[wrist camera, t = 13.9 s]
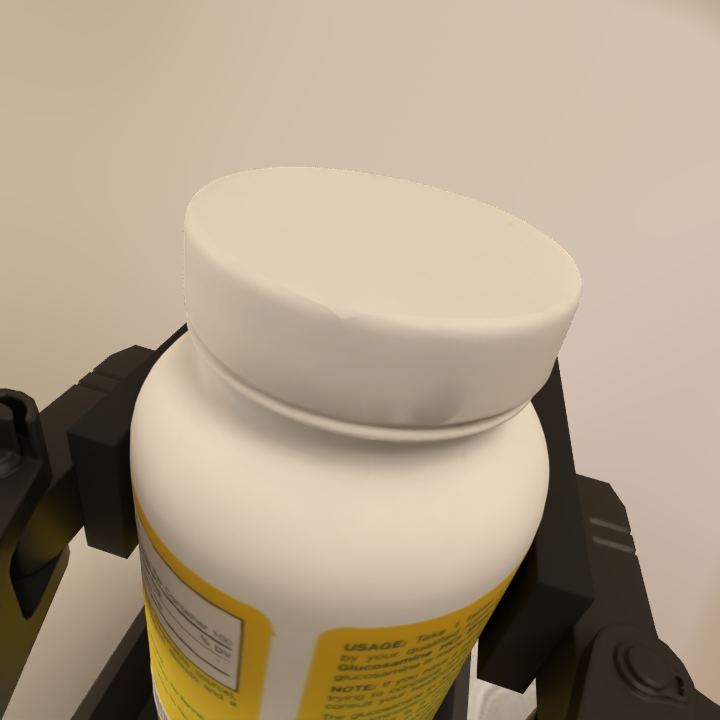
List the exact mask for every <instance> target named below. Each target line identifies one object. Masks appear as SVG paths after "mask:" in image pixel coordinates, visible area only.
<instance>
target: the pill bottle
mask: <svg viewBox="0 0 720 720" xmlns="http://www.w3.org/2000/svg"><path fill="white" fill-rule="evenodd" d="M183 270H184V272H183V282H184V299H185V308H186V311H187V327H188V331H187V332H186V333H185V334H183V335H182V336H181V337H180V338H179V339H178V340H176V341H175V342H174V343H173V344H172V345H171V346H170V347H169V348H168V349H167V350H166V351H165V352H164V353H163V354H162V356H161V357H160V358H159V359H158V361H157V362H156V363H155V364H154V366H153V368H152V369H151V371H150V373H149V375H148V376H147V378H146V380H145V381H144V384H143V386H142V388H141V391H140V393H139V395H138V398H137V401H136V404H135V408H134V413H133V417H132V422H131V431H130V472H131V483H132V491H133V500H134V506H135V518H136V525H137V532H138V542H139V550H140V561H141V571H142V581H143V594H144V601H145V613H146V620H147V630H148V638H149V647H150V658H151V673H152V680H153V693H154V699H155V704H156V709H157V714H158V720H432V719H433V717H434V715H435V713H436V712H437V710H438V709H439V707H440V705H441V704H442V702H443V700H444V698H445V696H446V694H447V692H448V691H449V689H450V687H451V685H452V683H453V682H454V680H455V679H456V677H457V675H458V674H459V672H460V670H461V668H462V666H463V664H464V662H465V661H466V659H467V657H468V655H469V654H470V652H471V650H472V648H473V647H474V645H475V643H476V641H477V639H478V638H479V636H480V634H481V632H482V630H483V629H484V627H485V625H486V623H487V622H488V620H489V618H490V616H491V615H492V613H493V611H494V610H495V608H496V606H497V605H498V603H499V601H500V599H501V598H502V596H503V594H504V593H505V591H506V589H507V587H508V586H509V584H510V582H511V580H512V579H513V577H514V575H515V573H516V571H517V570H518V568H519V566H520V564H521V563H522V561H523V559H524V557H525V556H526V554H527V552H528V550H529V548H530V546H531V544H532V542H533V539H534V537H535V534H536V532H537V529H538V527H539V524H540V521H541V519H542V515H543V511H544V506H545V501H546V497H547V492H548V483H549V458H548V452H547V445H546V441H545V436H544V433H543V430H542V427H541V424H540V421H539V418H538V416H537V414H536V411H535V409H534V407H533V405H532V403H531V401H530V400H531V399H532V397H533V396H534V395H535V394H536V393H537V392H538V391H539V390H540V389H541V388H542V387H543V385H544V384H545V383H546V381H547V380H548V378H549V376H550V373H551V371H552V368H553V366H554V363H555V360H556V357H557V355H558V353H559V350H560V348H561V346H562V344H563V341H564V339H565V337H566V334H567V332H568V329H569V327H570V325H571V322H572V320H573V317H574V315H575V313H576V310H577V308H578V304H579V300H580V297H581V294H582V280H581V275H580V273H579V271H578V268H577V266H576V263H575V262H574V260H573V259H572V258H571V257H570V256H569V254H568V253H567V252H566V251H565V250H564V249H563V248H562V247H561V246H560V245H559V244H557V243H556V242H555V241H554V240H552V239H551V238H550V237H548V236H547V235H546V234H544V233H543V232H541V231H540V230H538V229H537V228H535V227H533V226H532V225H530V224H528V223H526V222H525V221H523V220H521V219H519V218H517V217H515V216H513V215H511V214H509V213H507V212H504V211H502V210H500V209H498V208H495V207H493V206H491V205H488V204H485V203H483V202H480V201H477V200H474V199H471V198H468V197H465V196H462V195H459V194H456V193H453V192H449V191H446V190H443V189H440V188H436V187H432V186H428V185H425V184H421V183H417V182H413V181H409V180H404V179H399V178H394V177H389V176H384V175H377V174H372V173H366V172H358V171H351V170H343V169H331V168H320V167H308V166H306V167H303V166H300V167H298V166H294V167H293V166H292V167H291V166H289V167H288V166H286V167H285V166H284V167H271V168H261V169H253V170H248V171H243V172H237V173H233V174H230V175H227V176H224V177H221V178H218V179H216V180H213V181H212V182H210V183H208V184H207V185H205V186H204V187H202V188H201V189H200V190H199V191H197V193H196V194H195V195H194V197H193V198H192V199H191V201H190V202H189V204H188V207H187V210H186V215H185V227H184V267H183Z"/></svg>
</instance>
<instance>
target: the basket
mask: <svg viewBox="0 0 720 720" xmlns="http://www.w3.org/2000/svg"><path fill="white" fill-rule="evenodd" d="M470 663H471V652H470V654H469V655H468V657H467V659H466V661H465V662H464V664H463V666H462V668H461V670H460V672H459V674H458V675H457V677H456V679H455V680H454V682H453V683H452V685H451V687H450V689H449V691H448V692H447V694H446V696H445V698H444V700H443V702H442V704H441V705H440V707H439V709H438V710H437V712H436V713H435V715H434V717H433V719H432V720H467V709H468V694H469V679H470ZM71 720H158V714H157V709H156V704H155V699H154V693H153V680H152V673H151V658H150V647H149V638H148V630H147V620H146V613H145V605H144V606H143V608H142V609H141V611H140V613H139V614H138V616H137V617H136V619H135V620H134V622H133V623H132V625H131V626H130V628H129V630H128V631H127V633H126V634H125V636H124V637H123V639H122V640H121V642H120V644H119V645H118V647H117V648H116V650H115V651H114V653H113V654H112V656H111V657H110V659H109V661H108V662H107V664H106V665H105V667H104V668H103V670H102V671H101V673H100V675H99V676H98V678H97V679H96V681H95V682H94V684H93V685H92V687H91V688H90V690H89V692H88V693H87V695H86V696H85V698H84V699H83V701H82V702H81V704H80V706H79V707H78V709H77V710H76V712H75V713H74V715H73V716H72V718H71Z"/></svg>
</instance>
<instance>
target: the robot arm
mask: <svg viewBox="0 0 720 720" xmlns="http://www.w3.org/2000/svg"><path fill="white" fill-rule="evenodd" d="M187 331H188V327H187V323H186V324H184V325H183V326H182V327H181V328H180V329H179V330H178V331H177V332H175V333H174V334H173V335H172V336H171V337H170V338H169V339H168V340H167V341H166V342H164V343H163V344H162V345H161V346H160V347H159V348H158V349H157V350H155V351H154V350H151V349H147V348H144V347H141V346H137V345H134V346H132V347H130V348H127V349H124V350H122V351H120V352H117V353H115V354H112V355H111V356H109V357H108V358H107V359H105V361H103V362H102V363H101V364H99V365H98V366H97V367H96V368H94V369H93V372H92V373H91V372H89V373H88V374H87V375H86V376H85V377H83V378H82V379H81V380H80V381H79V383H78V385H76V384H75V385H73V386H72V387H71V388H70V389H68V390H67V391H66V392H65V393H63V394H62V395H61V396H60V397H59V398H57V399H56V400H55V401H54V402H52V403H51V404H50V405H49V406H47V407H46V408H45V409H44V410H42V412H40V413H39V411H38V408H37V406H36V403H35V401H34V399H33V398H31V397H30V396H28V395H26V394H25V393H23V392H20V391H15V390H11V389H6V388H5V389H0V720H2V717H3V715H4V713H5V710H6V708H7V706H8V703H9V701H10V699H11V696H12V694H13V692H14V689H15V687H16V685H17V682H18V680H19V678H20V675H21V673H22V671H23V668H24V666H25V664H26V661H27V659H28V657H29V654H30V652H31V649H32V647H33V645H34V642H35V640H36V638H37V635H38V633H39V631H40V628H41V626H42V624H43V621H44V619H45V617H46V614H47V612H48V610H49V607H50V605H51V603H52V600H53V598H54V596H55V593H56V591H57V588H58V586H59V584H60V581H61V579H62V577H63V574H64V572H65V570H66V567H67V565H68V560H69V555H70V550H69V545H68V543H69V542H70V541H71V540H72V538H73V537H74V536H75V535H76V534H77V533H78V532H79V530H80V529H81V528H82V527H83V526H84V528H85V534H86V539H87V544H88V546H90V547H93V548H96V549H99V550H102V551H105V552H108V553H111V554H114V555H117V556H120V557H123V558H126V559H128V557H129V556H130V555H131V553H132V552H133V550H134V549H135V548H136V546H137V545H138V544H139V542H138V532H137V525H136V518H135V506H134V500H133V491H132V483H131V472H130V431H131V422H132V417H133V413H134V408H135V404H136V401H137V398H138V395H139V393H140V391H141V388H142V386H143V384H144V381H145V380H146V378H147V376H148V375H149V373H150V371H151V369H152V368H153V366H154V364H155V363H156V362H157V361H158V359H159V358H160V357H161V356H162V354H163V353H164V352H165V351H166V350H167V349H168V348H169V347H170V346H171V345H172V344H173V343H174V342H175V341H176V340H178V339H179V338H180V337H181V336H182V335H183V334H185V333H186V332H187ZM530 401H531V403H532V405H533V407H534V409H535V411H536V414H537V416H538V418H539V421H540V424H541V427H542V430H543V433H544V436H545V441H546V445H547V452H548V458H549V483H548V492H547V497H546V501H545V506H544V511H543V515H542V519H541V521H540V524H539V527H538V529H537V532H536V534H535V537H534V539H533V542H532V544H531V546H530V548H529V550H528V552H527V554H526V556H525V557H524V559H523V561H522V563H521V564H520V566H519V568H518V570H517V571H516V573H515V575H514V577H513V579H512V580H511V582H510V584H509V586H508V587H507V589H506V591H505V593H504V594H503V596H502V598H501V599H500V601H499V603H498V605H497V606H496V608H495V610H494V611H493V613H492V615H491V616H490V618H489V620H488V622H487V623H486V625H485V627H484V629H483V630H482V632H481V634H480V636H479V639H478V660H477V679H480V680H483V681H486V682H489V683H492V684H495V685H498V686H501V687H504V688H507V689H510V690H513V691H515V692H518V693H521V694H523V693H524V692H525V691H526V689H527V688H528V687H529V685H530V684H531V683H532V681H533V680H534V679H535V678H536V696H537V707H536V708H535V709H534V710H533V712H532V713H531V714H530V715H529V717H528V718H527V719H526V720H720V706H719V705H717V704H716V703H714V702H713V701H711V700H710V699H708V698H707V697H706V696H704V695H703V694H702V693H700V692H699V691H698V690H696V689H695V687H694V683H693V681H692V679H691V677H690V676H689V674H688V672H687V670H686V668H685V666H684V664H683V663H682V661H681V660H680V659H679V658H678V657H677V656H676V654H675V653H674V652H673V651H672V650H671V649H670V648H669V646H668V645H667V644H665V643H664V642H663V641H661V640H660V639H659V638H658V635H657V633H656V629H655V625H654V621H653V617H652V613H651V609H650V605H649V601H648V597H647V593H646V589H645V585H644V581H643V577H642V573H641V569H640V565H639V561H638V557H637V556H636V555H635V551H636V549H635V545H634V541H633V537H632V535H630V532H631V529H630V525H629V521H628V517H627V513H626V509H625V506H624V505H623V503H622V502H621V500H620V499H619V497H618V496H617V494H616V493H615V492H614V490H613V489H612V487H611V486H610V484H609V483H606V482H603V481H599V480H596V479H592V478H589V477H586V476H582V475H579V474H576V473H575V466H574V460H573V454H572V447H571V441H570V434H569V428H568V421H567V415H566V409H565V402H564V396H563V389H562V383H561V377H560V370H559V364H558V357H556V360H555V363H554V366H553V368H552V371H551V373H550V376H549V378H548V380H547V381H546V383H545V384H544V385H543V387H542V388H541V389H540V390H539V391H538V392H537V393H536V394H535V395H534V396H533V397H532V399H531V400H530Z"/></svg>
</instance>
